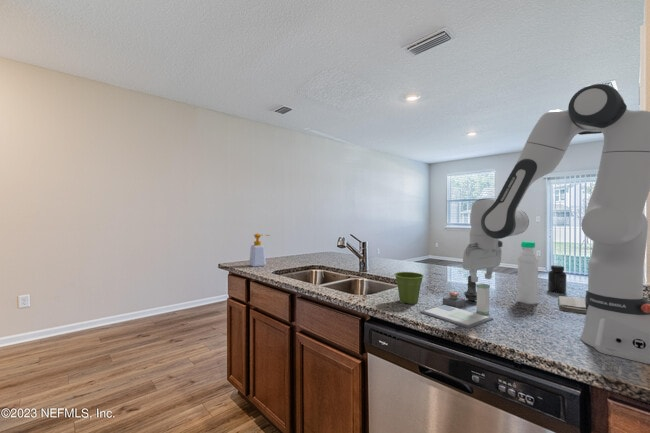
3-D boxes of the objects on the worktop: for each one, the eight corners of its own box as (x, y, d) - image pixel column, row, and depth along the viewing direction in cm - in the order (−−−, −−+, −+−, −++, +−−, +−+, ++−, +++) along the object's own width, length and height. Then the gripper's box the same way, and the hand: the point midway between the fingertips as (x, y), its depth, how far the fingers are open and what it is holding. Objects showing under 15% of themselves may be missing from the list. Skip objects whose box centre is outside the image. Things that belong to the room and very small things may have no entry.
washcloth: (559, 311, 116) (559, 303, 116) (556, 300, 131) (556, 293, 131) (601, 317, 109) (601, 309, 109) (593, 305, 124) (593, 297, 124)
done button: (460, 302, 122) (460, 293, 122) (455, 303, 120) (455, 294, 120) (452, 300, 125) (452, 291, 125) (447, 301, 123) (447, 292, 123)
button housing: (465, 305, 122) (465, 299, 122) (456, 308, 118) (456, 301, 118) (451, 301, 127) (451, 295, 127) (442, 304, 123) (442, 298, 123)
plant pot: (388, 301, 128) (388, 274, 127) (405, 296, 135) (405, 270, 135) (412, 308, 118) (412, 278, 118) (429, 302, 126) (429, 275, 126)
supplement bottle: (544, 290, 146) (544, 265, 146) (554, 289, 148) (555, 264, 148) (559, 294, 140) (559, 267, 140) (570, 292, 142) (570, 267, 142)
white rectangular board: (493, 319, 106) (493, 317, 106) (469, 328, 97) (469, 325, 97) (444, 305, 121) (444, 303, 121) (419, 312, 113) (419, 310, 113)
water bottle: (517, 299, 131) (517, 240, 131) (537, 301, 128) (537, 241, 127) (517, 303, 125) (518, 241, 125) (538, 305, 121) (539, 242, 121)
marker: (489, 313, 112) (489, 284, 112) (484, 315, 110) (485, 286, 110) (480, 311, 115) (481, 283, 114) (476, 312, 113) (476, 284, 113)
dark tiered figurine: (481, 304, 123) (481, 274, 123) (465, 303, 124) (466, 274, 124) (477, 300, 129) (477, 272, 128) (462, 299, 130) (462, 271, 130)
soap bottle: (272, 265, 213) (272, 233, 213) (252, 267, 206) (252, 234, 206) (267, 263, 221) (267, 232, 221) (248, 265, 215) (248, 233, 214)
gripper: (475, 245, 104) (474, 285, 104) (505, 242, 115) (503, 278, 116) (458, 243, 109) (457, 281, 109) (488, 240, 121) (487, 275, 121)
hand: (481, 280), depth 113 cm, fingers open, 8 cm apart
